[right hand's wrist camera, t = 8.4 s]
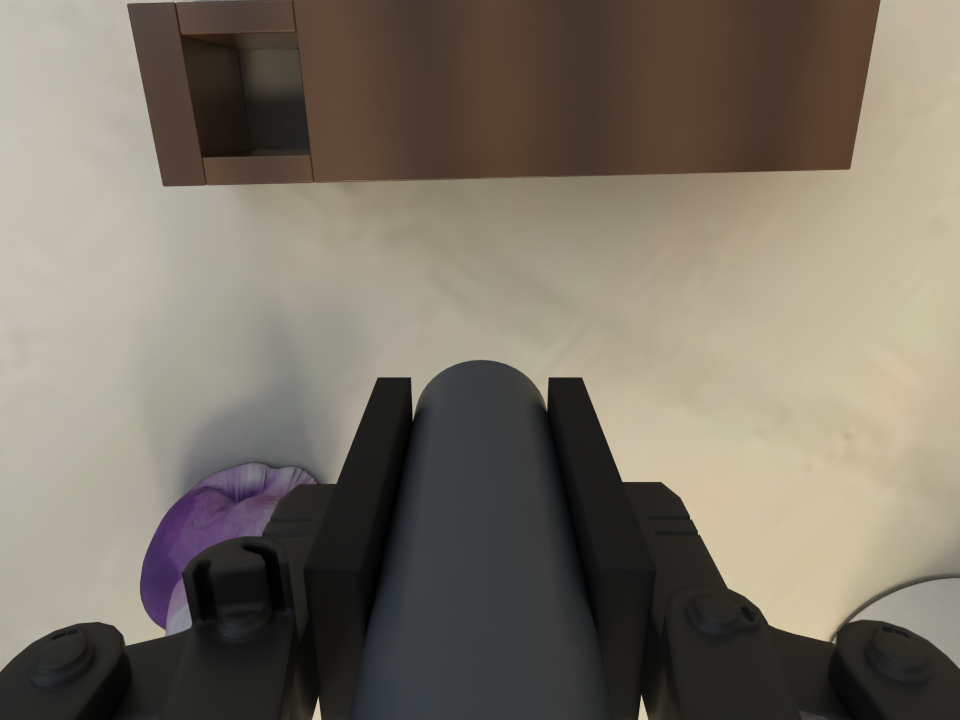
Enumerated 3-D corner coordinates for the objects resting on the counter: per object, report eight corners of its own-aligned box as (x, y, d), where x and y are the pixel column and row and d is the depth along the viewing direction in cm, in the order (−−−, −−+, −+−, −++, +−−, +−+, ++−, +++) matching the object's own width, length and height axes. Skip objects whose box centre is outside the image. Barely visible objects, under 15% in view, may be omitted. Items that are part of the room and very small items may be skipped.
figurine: (345, 453, 37) (263, 659, 23) (325, 590, 41) (243, 840, 27) (182, 423, 36) (-6, 617, 22) (175, 565, 40) (11, 809, 26)
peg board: (805, 8, 29) (884, -18, 23) (784, 160, 31) (850, 169, 26) (194, 24, 29) (126, 3, 23) (219, 173, 31) (162, 186, 26)
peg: (544, 477, 16) (699, 1346, 5) (417, 478, 16) (266, 1346, 5) (549, 359, 15) (772, 1133, 4) (412, 359, 15) (196, 1131, 4)
